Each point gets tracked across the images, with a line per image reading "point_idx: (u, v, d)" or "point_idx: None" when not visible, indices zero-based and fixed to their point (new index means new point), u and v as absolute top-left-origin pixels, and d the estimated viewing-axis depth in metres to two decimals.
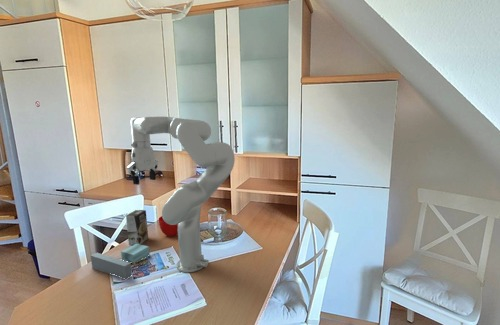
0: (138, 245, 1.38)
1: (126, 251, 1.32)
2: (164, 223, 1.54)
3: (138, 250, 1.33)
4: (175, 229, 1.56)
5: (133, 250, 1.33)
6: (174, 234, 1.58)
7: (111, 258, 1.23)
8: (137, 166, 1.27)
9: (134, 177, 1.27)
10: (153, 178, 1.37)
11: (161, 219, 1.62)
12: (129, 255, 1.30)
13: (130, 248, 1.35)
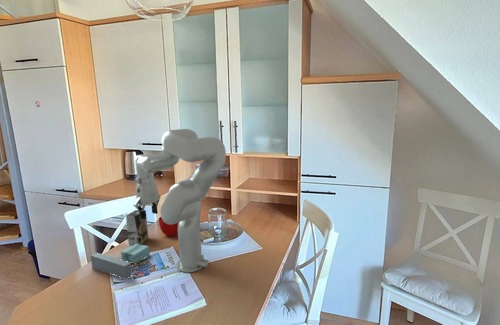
0: (138, 245, 1.38)
1: (126, 251, 1.32)
2: (164, 223, 1.54)
3: (138, 250, 1.33)
4: (175, 229, 1.56)
5: (134, 250, 1.33)
6: (174, 234, 1.58)
7: (111, 258, 1.23)
8: (142, 201, 1.34)
9: (141, 212, 1.36)
10: (155, 212, 1.44)
11: (161, 219, 1.62)
12: (129, 255, 1.30)
13: (129, 248, 1.35)
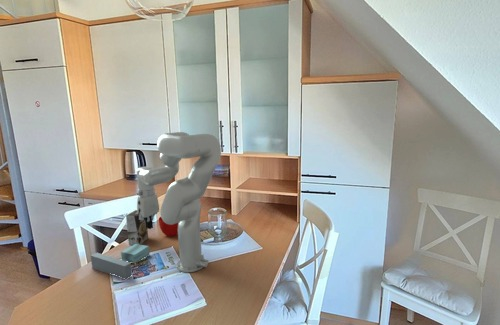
0: (137, 245, 1.38)
1: (126, 251, 1.32)
2: (164, 223, 1.54)
3: (138, 250, 1.33)
4: (175, 229, 1.56)
5: (134, 250, 1.33)
6: (174, 234, 1.58)
7: (111, 258, 1.23)
8: (142, 213, 1.36)
9: (147, 222, 1.41)
10: None
11: (161, 219, 1.62)
12: (130, 255, 1.30)
13: (129, 248, 1.35)
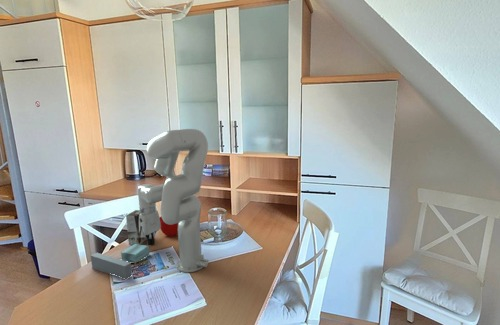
0: (137, 245, 1.38)
1: (126, 251, 1.32)
2: (164, 223, 1.54)
3: (139, 250, 1.33)
4: (175, 229, 1.56)
5: (134, 250, 1.33)
6: (174, 234, 1.58)
7: (111, 258, 1.23)
8: (144, 231, 1.36)
9: (148, 239, 1.41)
10: None
11: (161, 219, 1.62)
12: (130, 255, 1.30)
13: (129, 248, 1.35)
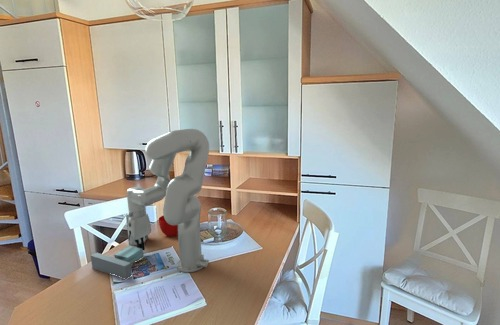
0: (131, 247, 1.36)
1: (119, 254, 1.30)
2: (164, 223, 1.54)
3: (132, 253, 1.31)
4: (175, 229, 1.56)
5: (127, 252, 1.31)
6: (174, 234, 1.58)
7: (111, 258, 1.23)
8: (133, 235, 1.31)
9: (138, 244, 1.36)
10: (142, 248, 1.37)
11: (161, 219, 1.62)
12: (123, 258, 1.28)
13: (123, 251, 1.33)
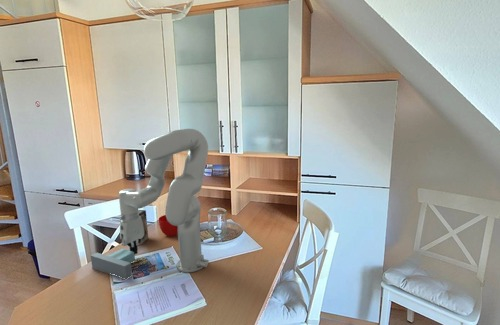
0: (124, 250, 1.33)
1: (110, 256, 1.27)
2: (164, 223, 1.54)
3: (122, 256, 1.28)
4: (175, 229, 1.56)
5: (118, 255, 1.28)
6: (174, 234, 1.58)
7: (111, 258, 1.23)
8: (125, 239, 1.28)
9: (131, 248, 1.32)
10: None
11: (161, 219, 1.62)
12: None
13: (115, 253, 1.30)
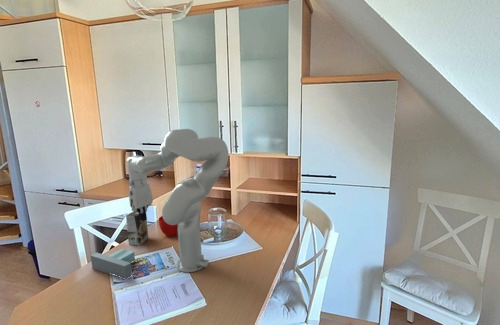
0: (123, 250, 1.33)
1: None
2: (164, 223, 1.54)
3: (123, 256, 1.28)
4: (175, 229, 1.56)
5: (118, 255, 1.28)
6: (174, 234, 1.58)
7: (111, 258, 1.23)
8: (135, 204, 1.30)
9: (140, 214, 1.35)
10: None
11: (161, 219, 1.62)
12: None
13: (114, 254, 1.30)
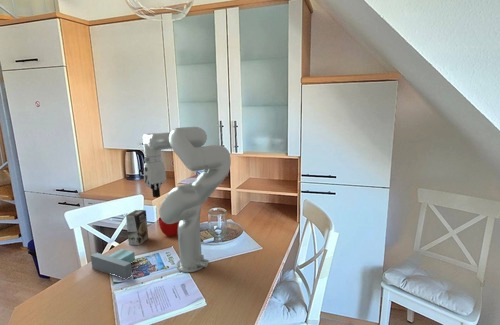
0: (123, 250, 1.33)
1: None
2: (164, 223, 1.54)
3: (123, 256, 1.28)
4: (175, 229, 1.56)
5: (118, 255, 1.28)
6: (174, 234, 1.58)
7: (111, 258, 1.23)
8: (149, 180, 1.33)
9: (154, 191, 1.38)
10: None
11: None
12: None
13: (114, 254, 1.30)
